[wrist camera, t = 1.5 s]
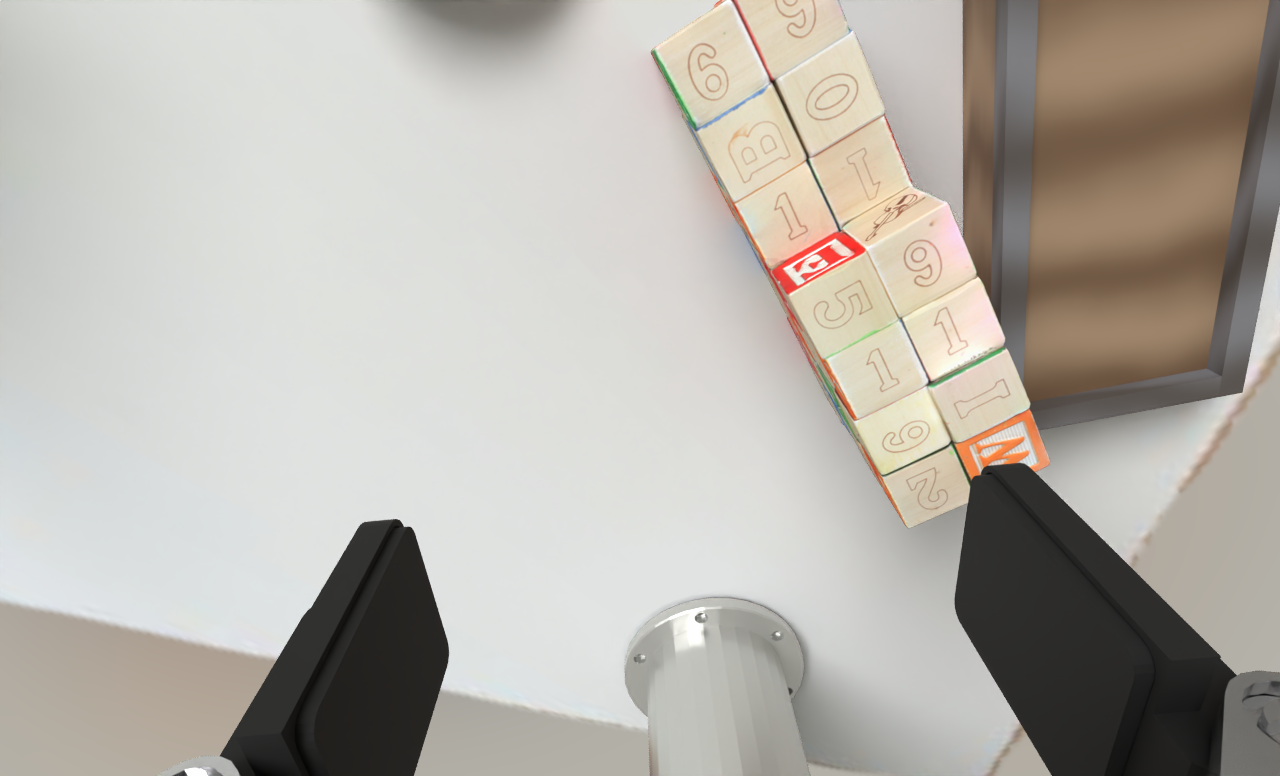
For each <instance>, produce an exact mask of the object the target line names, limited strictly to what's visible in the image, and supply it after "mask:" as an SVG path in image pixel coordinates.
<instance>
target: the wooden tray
mask: <svg viewBox="0 0 1280 776" xmlns="http://www.w3.org/2000/svg"><path fill="white" fill-rule="evenodd" d="M1279 207H1280V0H963V234H964V241H965V244H966V246H967V249H968V251H969V253H970V256H971V258H972V261H973V263H974V265H975V268H976V272H977V276H978V277H979V278H980V280H981V281H982V283H983V285H984V287H985V290H986V292H987V294H988V297H989V299H990V302H991V304H992V306H993V309H994V311H995V314H996V316H997V319H998V321H999V323H1000V325H1001V328H1002V331H1003V333H1004V336H1005V342H1004V346H1005V348H1006V349H1007V350H1008V351H1009V353H1010V356H1011V358H1012V360H1013V363H1014V365H1015V367H1016V370H1017V372H1018V375H1019V377H1020V380H1021V382H1022V384H1023V387H1024V389H1025V391H1026V394H1027V397H1028V399H1029V401H1030V408H1029V409H1030V411H1031V412H1032V415H1033V418H1034V420H1035V423H1036V426H1037V428H1038V430H1043V429H1049V428H1054V427H1060V426H1065V425H1070V424H1076V423H1081V422H1086V421H1092V420H1097V419H1103V418H1108V417H1113V416H1119V415H1124V414H1129V413H1135V412H1140V411H1146V410H1151V409H1156V408H1162V407H1167V406H1173V405H1178V404H1183V403H1189V402H1194V401H1199V400H1205V399H1210V398H1216V397H1221V396H1226V395H1232V394H1237V393H1242V392H1243V387H1244V382H1245V377H1246V372H1247V367H1248V362H1249V357H1250V352H1251V347H1252V342H1253V337H1254V332H1255V327H1256V322H1257V317H1258V312H1259V307H1260V302H1261V297H1262V292H1263V287H1264V282H1265V277H1266V272H1267V267H1268V262H1269V257H1270V252H1271V247H1272V242H1273V237H1274V232H1275V227H1276V222H1277V217H1278V212H1279Z"/></svg>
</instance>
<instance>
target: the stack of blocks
mask: <svg viewBox="0 0 1280 776" xmlns="http://www.w3.org/2000/svg"><path fill="white" fill-rule="evenodd" d="M651 54H652V56H653V58H654V60H655V62H656V64H657V65H658V67H659V69H660V71H661V73H662V75H663V77H664V78H665V80H666V82H667V84H668V86H669V88H670V90H671V92H672V94H673V96H674V98H675V100H676V102H677V104H678V106H679V108H680V110H681V112H682V117H683V119H684V121H685V123H686V125H687V126H688V128H689V130H690V132H691V134H692V136H693V138H694V140H695V142H696V144H697V146H698V148H699V150H700V151H701V153H702V155H703V157H704V159H705V161H706V163H707V165H708V167H709V168H710V170H711V173H712V175H713V177H714V179H715V181H716V183H717V185H718V187H719V188H720V190H721V192H722V194H723V196H724V198H725V200H726V202H727V204H728V206H729V208H730V210H731V212H732V214H733V216H734V218H735V219H736V221H737V222H738V224H739V225H740V227H741V228H742V230H743V232H744V234H745V236H746V238H747V240H748V241H749V243H750V245H751V247H752V249H753V251H754V253H755V255H756V257H757V259H758V261H759V263H760V265H761V267H762V269H763V270H764V272H765V274H766V276H767V278H768V280H769V282H770V284H771V286H772V288H773V289H774V291H775V293H776V295H777V297H778V299H779V301H780V303H781V305H782V307H783V309H784V311H785V313H786V315H787V319H788V321H789V323H790V325H791V327H792V329H793V331H794V333H795V335H796V337H797V339H798V341H799V343H800V345H801V347H802V349H803V351H804V353H805V355H806V357H807V359H808V361H809V363H810V366H811V368H812V370H813V372H814V374H815V376H816V378H817V380H818V381H819V383H820V385H821V387H822V389H823V391H824V393H825V395H826V397H827V399H828V401H829V402H830V404H831V406H832V407H833V409H834V410H835V412H836V414H837V416H838V417H839V419H840V421H841V422H842V424H843V425H845V426H846V428H847V430H848V431H849V433H850V434H851V436H852V437H853V439H854V440H855V442H856V444H857V446H858V448H859V450H860V451H861V453H862V455H863V457H864V459H865V460H866V462H867V464H868V466H869V467H870V469H871V471H872V472H873V474H874V476H875V477H876V479H877V480H878V482H879V483H880V485H881V486H882V488H883V489H884V491H885V493H886V495H887V496H888V498H889V500H890V501H891V503H892V505H893V506H894V508H895V509H896V511H897V513H898V514H899V516H900V518H901V519H902V521H903V523H904V524H905V526H906V527H907V528H912V527H914V526H916V525H919V524H921V523H923V522H925V521H927V520H930V519H932V518H934V517H937V516H939V515H941V514H943V513H946V512H948V511H950V510H952V509H955V508H957V507H960V506H962V505H965V504H967V503H968V499H969V492H970V485H971V481H972V479H973V477H974V476H977V475H981V471H982V470H983V468H984V467H986V466H989V465H1000V464H1011V463H1025V464H1026V465H1027V466H1029V467H1030V468H1031V469H1032V470H1033V471H1034V472H1036V471H1038V470H1040V469H1042V468H1044V467H1046V466H1048V465H1049V464H1050V463H1051V462H1050V459H1049V456H1048V454H1047V451H1046V449H1045V446H1044V444H1043V441H1042V439H1041V436H1040V433H1039V431H1038V428H1037V426H1036V423H1035V420H1034V418H1033V415H1032V412H1031V411H1030V409H1029V408H1030V401H1029V399H1028V397H1027V394H1026V391H1025V389H1024V387H1023V384H1022V382H1021V380H1020V377H1019V375H1018V372H1017V370H1016V367H1015V365H1014V363H1013V360H1012V358H1011V356H1010V353H1009V351H1008V350H1007V349H1006V348H1005V346H1004V342H1005V336H1004V333H1003V331H1002V328H1001V325H1000V323H999V321H998V319H997V316H996V314H995V311H994V309H993V306H992V304H991V302H990V299H989V297H988V294H987V292H986V290H985V287H984V285H983V283H982V281H981V280H980V278H979V277H978V276H977V272H976V268H975V265H974V263H973V261H972V258H971V256H970V253H969V251H968V249H967V246H966V244H965V241H964V239H963V236H962V234H961V231H960V229H959V227H958V224H957V222H956V220H955V217H954V215H953V213H952V210H951V207H950V205H949V203H948V202H947V201H944V200H941V199H939V198H937V197H935V196H933V195H930V194H928V193H926V192H924V191H922V190H920V189H918V188H916V187H913V184H912V181H911V179H910V176H909V174H908V171H907V169H906V166H905V164H904V161H903V159H902V156H901V154H900V151H899V149H898V146H897V144H896V141H895V139H894V136H893V134H892V131H891V129H890V126H889V124H888V121H887V119H886V117H885V107H884V104H883V102H882V99H881V96H880V94H879V91H878V89H877V86H876V83H875V81H874V78H873V76H872V73H871V71H870V68H869V66H868V63H867V61H866V58H865V56H864V53H863V51H862V48H861V46H860V43H859V41H858V39H857V36H856V34H855V32H854V31H853V30H850V29H849V27H848V24H847V21H846V18H845V15H844V13H843V10H842V8H841V5H840V3H839V0H720V1H719V2H717V3H716V4H715V5H714V8H713V9H712V10H711V11H709V12H707V13H706V14H704V15H702V16H701V17H699V18H698V19H696V20H695V21H693V22H692V23H690V24H689V25H687V26H686V27H684V28H683V29H681V30H680V31H678V32H677V33H675V34H674V35H672V36H671V37H669V38H668V39H667V40H665V41H664V42H662V43H661V44H659V45H658V46H656V47H655V48H653V49H652V50H651Z"/></svg>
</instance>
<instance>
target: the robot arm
mask: <svg viewBox="0 0 1280 776" xmlns="http://www.w3.org/2000/svg"><path fill="white" fill-rule="evenodd" d="M955 609H956V614H957V616H958V619H959V621H960V623H961V625H962V627H963V628H964V630H965V632H966V633H967V635H968V637H969V638H970V640H971V642H972V643H973V645H974V647H975V648H976V650H977V652H978V653H979V655H980V657H981V658H982V660H983V662H984V663H985V665H986V667H987V668H988V670H989V672H990V673H991V675H992V677H993V678H994V680H995V682H996V683H997V685H998V687H999V688H1000V690H1001V692H1002V693H1003V695H1004V697H1005V698H1006V700H1007V702H1008V703H1009V705H1010V707H1011V708H1012V710H1013V712H1014V713H1015V715H1016V717H1017V718H1018V720H1019V722H1020V723H1021V725H1022V727H1023V728H1024V730H1025V732H1026V733H1027V735H1028V737H1029V738H1030V740H1031V741H1032V743H1033V745H1034V747H1035V748H1036V750H1037V751H1038V753H1039V755H1040V757H1041V758H1042V760H1043V762H1044V763H1045V765H1046V767H1047V768H1048V770H1049V772H1050V773H1051V775H1052V776H1280V673H1279V672H1267V671H1252V672H1246V673H1241V674H1239V675H1236V674H1235V673H1234V672H1233V671H1232V670H1231V669H1230V668H1229V667H1228V666H1227V665H1226V664H1225V663H1224V662H1223V661H1222V660H1221V659H1220V658H1221V657H1220V655H1219V654H1218V653H1217V652H1216V651H1215V650H1214V649H1213V648H1212V647H1211V646H1210V645H1209V644H1208V643H1207V642H1206V641H1204V639H1203V638H1202V637H1201V636H1200V635H1199V634H1198V633H1196V631H1195V630H1194V629H1192V627H1191V626H1190V625H1188V624H1187V623H1186V622H1185V621H1184V620H1183V619H1182V618H1181V617H1180V616H1179V615H1178V614H1177V613H1176V612H1175V611H1174V610H1173V609H1172V608H1171V607H1170V606H1169V605H1168V604H1167V603H1166V602H1165V601H1164V600H1163V599H1162V598H1161V597H1160V596H1159V595H1158V594H1157V593H1156V592H1155V591H1154V590H1153V589H1152V588H1151V587H1150V586H1149V585H1148V584H1147V583H1146V582H1145V581H1144V580H1143V579H1142V578H1141V577H1140V576H1139V575H1138V574H1137V573H1136V572H1135V571H1134V570H1133V569H1132V568H1131V567H1130V566H1129V565H1128V564H1127V563H1126V562H1125V561H1124V560H1123V559H1122V558H1121V557H1120V556H1119V555H1118V554H1117V553H1116V552H1115V551H1114V550H1113V549H1112V548H1111V547H1110V546H1109V545H1108V544H1107V543H1106V542H1105V541H1104V540H1103V539H1102V538H1101V537H1100V536H1099V535H1098V534H1097V533H1096V532H1095V531H1094V530H1093V529H1092V528H1091V527H1090V526H1089V525H1088V524H1087V523H1085V522H1084V521H1083V520H1082V519H1081V518H1080V517H1079V516H1078V515H1077V514H1076V513H1075V512H1074V511H1073V510H1072V509H1071V508H1070V507H1069V506H1068V505H1067V504H1066V503H1065V502H1064V501H1063V500H1062V499H1061V498H1060V497H1059V496H1058V495H1057V494H1056V493H1055V492H1054V491H1053V490H1052V489H1051V488H1050V487H1049V486H1048V485H1047V484H1046V483H1045V482H1044V481H1043V480H1042V479H1041V478H1040V477H1039V476H1038V475H1037V474H1036V473H1035V472H1034V471H1033V470H1032V469H1031V468H1030V467H1029V466H1027V465H1026V464H1025V463H1011V464H1000V465H989V466H986V467H984V468H983V470H982V471H981V475H977V476H974V477H973V479H972V481H971V485H970V492H969V499H968V506H967V514H966V521H965V528H964V535H963V542H962V549H961V557H960V564H959V571H958V578H957V585H956V592H955ZM448 658H449V647H448V641H447V638H446V635H445V631H444V628H443V625H442V621H441V618H440V615H439V612H438V608H437V605H436V602H435V598H434V595H433V592H432V588H431V585H430V582H429V579H428V575H427V572H426V569H425V565H424V562H423V559H422V556H421V552H420V549H419V546H418V542H417V539H416V536H415V533H414V530H413V529H412V528H411V527H404V526H403V524H402V523H401V521H400V520H397V519H393V520H382V521H371V522H364V523H362V524H361V525H360V526H359V528H358V529H357V531H356V533H355V534H354V536H353V538H352V540H351V541H350V543H349V545H348V546H347V548H346V550H345V551H344V553H343V555H342V557H341V558H340V560H339V562H338V563H337V565H336V567H335V568H334V570H333V572H332V573H331V575H330V577H329V579H328V580H327V582H326V584H325V585H324V587H323V589H322V590H321V592H320V594H319V595H318V597H317V599H316V601H315V602H314V604H313V606H312V607H311V609H309V610H308V611H307V612H306V613H305V615H304V616H303V617H302V619H301V621H300V622H299V624H298V626H297V627H296V629H295V631H294V632H293V634H292V636H291V637H290V639H289V641H288V642H287V644H286V646H285V647H284V649H283V651H282V652H281V654H280V656H279V657H278V659H277V661H276V663H275V664H274V666H273V668H272V669H271V671H270V673H269V674H268V676H267V678H266V679H265V681H264V683H263V684H262V686H261V688H260V689H259V691H258V693H257V695H256V696H255V698H254V700H253V701H252V703H251V704H250V706H249V708H248V710H247V711H246V713H245V715H244V716H243V718H242V720H241V721H240V723H239V725H238V726H237V728H236V730H235V731H234V733H233V735H232V736H231V738H230V740H229V741H228V743H227V745H226V747H225V748H224V750H223V751H222V753H221V755H220V756H201V757H197V758H194V759H190V760H186V761H183V762H181V763H179V764H177V765H175V766H173V767H171V768H169V769H167V770H164V771H163V772H161V773H160V774H159V775H157V776H414V773H415V770H416V767H417V763H418V760H419V757H420V753H421V750H422V747H423V744H424V740H425V737H426V734H427V730H428V727H429V724H430V721H431V717H432V714H433V711H434V708H435V704H436V701H437V698H438V694H439V691H440V688H441V685H442V681H443V678H444V675H445V671H446V668H447V664H448ZM803 674H804V659H803V655H802V651H801V648H800V644H799V642H798V640H797V637H796V635H795V633H794V632H793V630H792V629H791V628H790V626H789V625H788V624H787V623H786V622H785V621H784V620H783V619H782V618H780V617H779V616H778V615H777V614H776V613H774V612H772V611H770V610H768V609H766V608H765V607H763V606H760V605H757V604H754V603H751V602H748V601H744V600H738V599H732V598H706V599H699V600H693V601H689V602H686V603H682V604H679V605H676V606H674V607H672V608H669V609H667V610H665V611H663V612H661V613H660V614H658V615H657V616H655V617H654V618H652V619H651V620H649V621H648V622H647V623H646V624H645V625H644V626H643V627H642V628H641V629H640V630H639V631H638V632H637V634H636V635H635V637H634V638H633V640H632V641H631V643H630V645H629V648H628V651H627V654H626V659H625V684H626V687H627V690H628V693H629V695H630V697H631V699H632V700H633V702H634V704H635V705H636V706H637V707H638V708H639V709H640V710H641V711H642V712H643V713H644V714H645V715H646V716H647V717H648V735H649V767H650V776H810V772H809V768H808V764H807V760H806V756H805V752H804V749H803V745H802V741H801V737H800V733H799V729H798V725H797V721H796V717H795V714H794V710H793V706H792V702H791V700H792V698H793V697H794V696H795V694H796V692H797V691H798V689H799V687H800V685H801V682H802V678H803Z"/></svg>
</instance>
